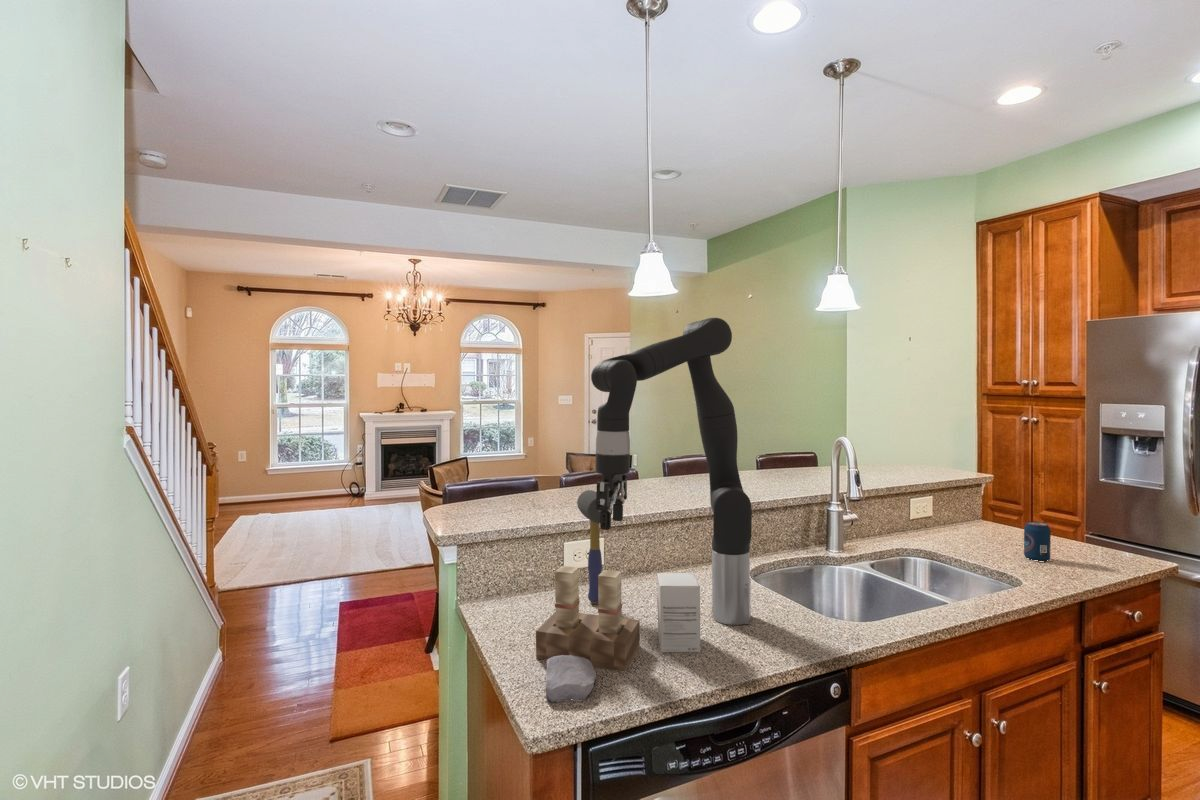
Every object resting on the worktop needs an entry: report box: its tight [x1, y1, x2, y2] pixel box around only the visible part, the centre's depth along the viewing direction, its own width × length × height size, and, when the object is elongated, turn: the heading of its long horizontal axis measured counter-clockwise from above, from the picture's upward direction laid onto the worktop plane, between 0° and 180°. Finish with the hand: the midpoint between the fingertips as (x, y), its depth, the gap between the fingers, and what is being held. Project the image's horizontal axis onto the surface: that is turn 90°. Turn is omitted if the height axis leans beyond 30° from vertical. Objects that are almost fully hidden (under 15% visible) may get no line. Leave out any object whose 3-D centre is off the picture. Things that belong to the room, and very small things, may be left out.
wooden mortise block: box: [535, 611, 641, 673], centre depth 128 cm, size 20×12×6 cm, turn 72°
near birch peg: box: [597, 569, 623, 635], centre depth 126 cm, size 4×4×13 cm
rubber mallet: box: [576, 489, 613, 605], centre depth 156 cm, size 12×8×30 cm, turn 16°
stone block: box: [545, 655, 597, 703], centre depth 114 cm, size 12×5×10 cm
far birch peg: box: [554, 565, 580, 629], centre depth 129 cm, size 4×4×13 cm
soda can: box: [1023, 520, 1052, 562], centre depth 190 cm, size 7×7×12 cm
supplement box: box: [656, 572, 701, 653], centre depth 131 cm, size 9×9×15 cm
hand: (611, 524), depth 127 cm, fingers open, 8 cm apart
